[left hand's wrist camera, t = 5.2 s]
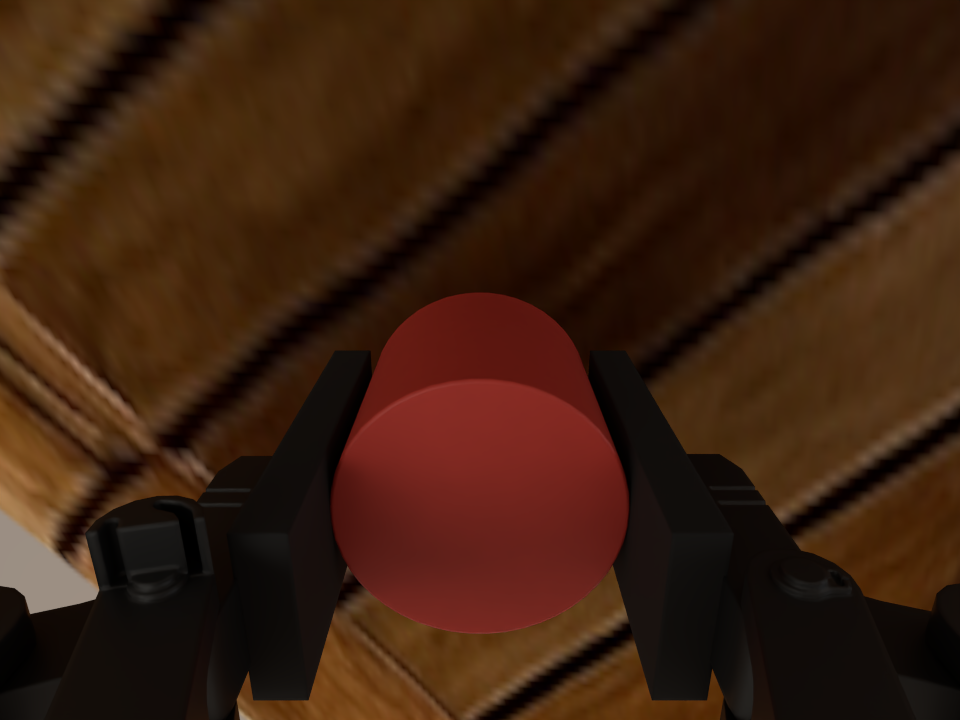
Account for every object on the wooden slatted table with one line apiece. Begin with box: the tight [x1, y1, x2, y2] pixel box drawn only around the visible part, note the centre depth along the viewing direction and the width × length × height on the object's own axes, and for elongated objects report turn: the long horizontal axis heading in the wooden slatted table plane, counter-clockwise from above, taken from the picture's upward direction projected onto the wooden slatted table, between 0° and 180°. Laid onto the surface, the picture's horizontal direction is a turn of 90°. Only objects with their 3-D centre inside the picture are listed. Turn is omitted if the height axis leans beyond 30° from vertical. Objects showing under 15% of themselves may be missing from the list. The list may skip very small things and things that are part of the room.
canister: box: [330, 293, 630, 634], centre depth 13 cm, size 5×5×5 cm
